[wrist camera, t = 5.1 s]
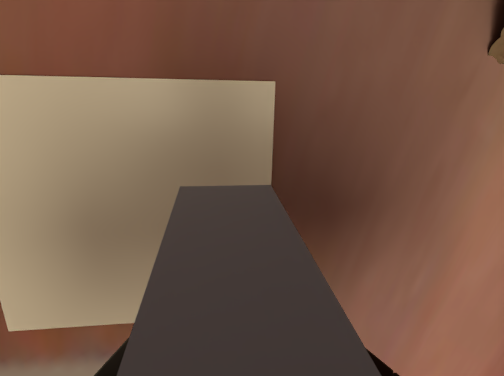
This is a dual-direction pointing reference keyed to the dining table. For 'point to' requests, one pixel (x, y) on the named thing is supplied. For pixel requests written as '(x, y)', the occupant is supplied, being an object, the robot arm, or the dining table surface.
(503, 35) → the clay tablet
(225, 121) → the placemat
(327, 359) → the blue-grey block
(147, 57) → the dining table surface
